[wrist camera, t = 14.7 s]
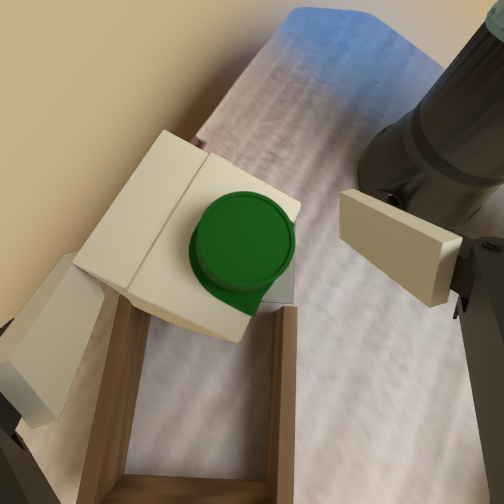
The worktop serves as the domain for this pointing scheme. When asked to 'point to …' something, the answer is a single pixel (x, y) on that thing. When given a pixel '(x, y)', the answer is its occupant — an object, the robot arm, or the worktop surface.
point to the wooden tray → (180, 488)
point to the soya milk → (193, 240)
